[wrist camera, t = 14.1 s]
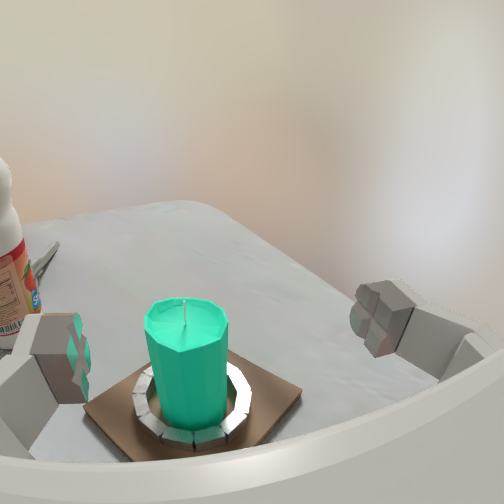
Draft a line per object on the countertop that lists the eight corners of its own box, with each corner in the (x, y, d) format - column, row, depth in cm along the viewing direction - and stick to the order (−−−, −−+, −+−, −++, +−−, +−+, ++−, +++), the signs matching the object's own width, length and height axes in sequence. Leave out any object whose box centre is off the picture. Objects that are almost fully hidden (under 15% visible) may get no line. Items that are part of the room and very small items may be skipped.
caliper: (37, 304, 39) (25, 266, 36) (30, 305, 39) (19, 267, 36) (60, 244, 56) (55, 214, 53) (55, 245, 56) (50, 215, 53)
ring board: (191, 511, 18) (190, 508, 18) (85, 411, 25) (82, 406, 25) (300, 395, 30) (302, 389, 30) (196, 336, 37) (196, 330, 37)
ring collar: (196, 473, 21) (195, 465, 20) (115, 402, 26) (111, 392, 25) (271, 398, 28) (273, 388, 28) (190, 350, 34) (189, 339, 33)
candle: (147, 411, 26) (122, 306, 20) (186, 373, 30) (178, 270, 25) (202, 444, 23) (192, 343, 18) (238, 400, 28) (245, 295, 23)
